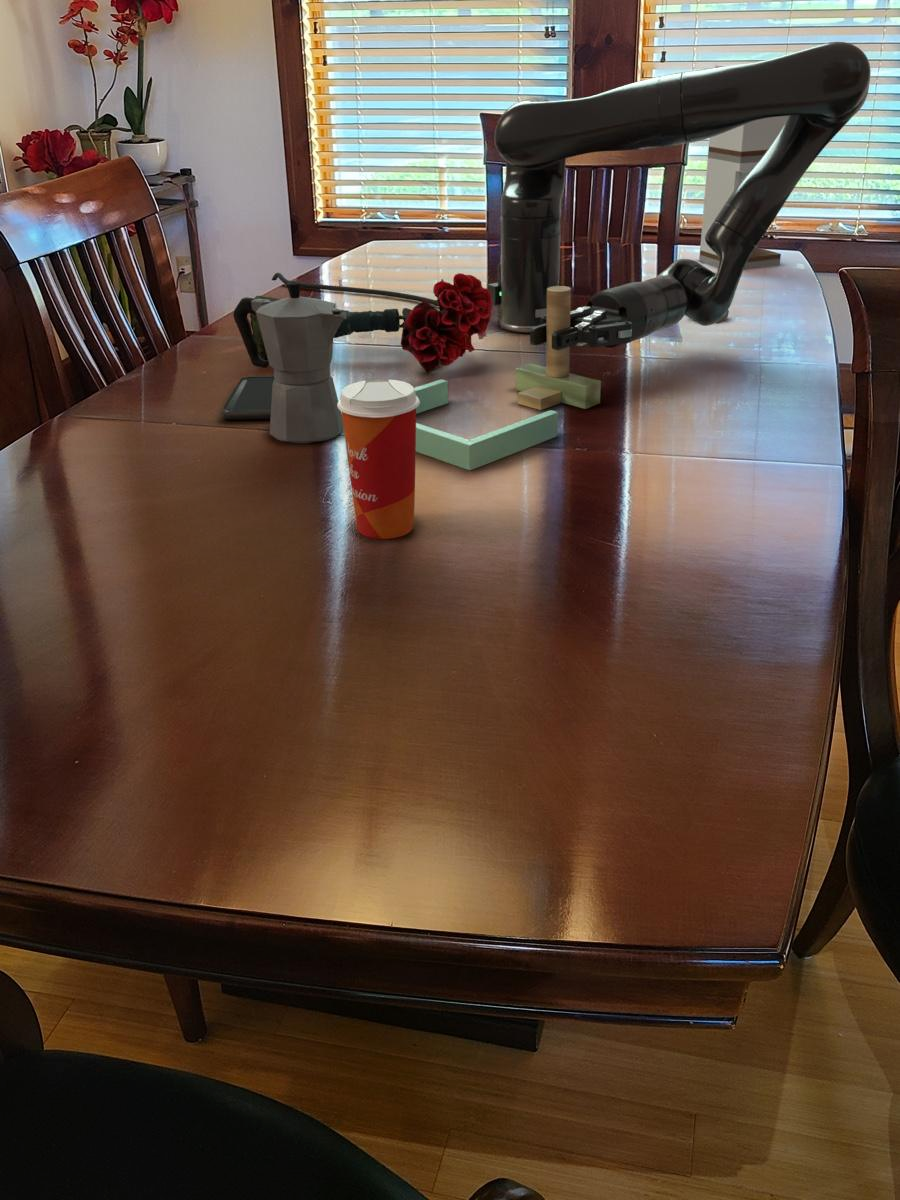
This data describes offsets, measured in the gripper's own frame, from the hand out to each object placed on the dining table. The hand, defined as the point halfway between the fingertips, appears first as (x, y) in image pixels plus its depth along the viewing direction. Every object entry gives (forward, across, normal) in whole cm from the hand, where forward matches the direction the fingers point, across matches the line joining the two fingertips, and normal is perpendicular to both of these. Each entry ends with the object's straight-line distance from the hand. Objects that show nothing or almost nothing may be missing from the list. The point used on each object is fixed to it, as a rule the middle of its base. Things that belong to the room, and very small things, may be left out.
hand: (543, 339), depth 135 cm
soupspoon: (-56, -14, +8) cm, 58 cm away
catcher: (+15, 0, +8) cm, 17 cm away
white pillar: (-91, -28, +8) cm, 95 cm away
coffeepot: (+28, -15, +8) cm, 33 cm away
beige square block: (+1, 0, +8) cm, 8 cm away
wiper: (-3, 0, +8) cm, 9 cm away
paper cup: (+40, +14, +8) cm, 43 cm away
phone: (+24, -28, +8) cm, 38 cm away
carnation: (+2, -31, +8) cm, 32 cm away
